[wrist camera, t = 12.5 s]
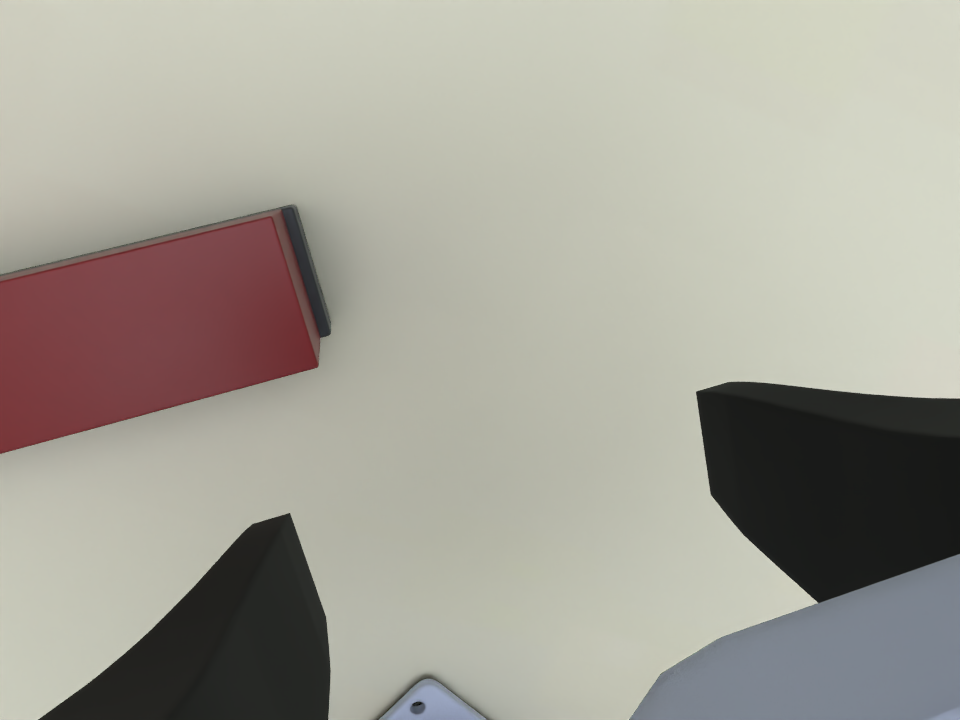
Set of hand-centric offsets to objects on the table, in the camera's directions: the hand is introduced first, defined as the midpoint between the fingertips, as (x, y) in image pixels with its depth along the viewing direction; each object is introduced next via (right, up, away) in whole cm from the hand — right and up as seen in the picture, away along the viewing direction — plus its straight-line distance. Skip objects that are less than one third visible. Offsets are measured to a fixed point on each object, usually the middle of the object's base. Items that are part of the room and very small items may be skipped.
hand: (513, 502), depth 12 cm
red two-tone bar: (-12, +3, +8) cm, 14 cm away
